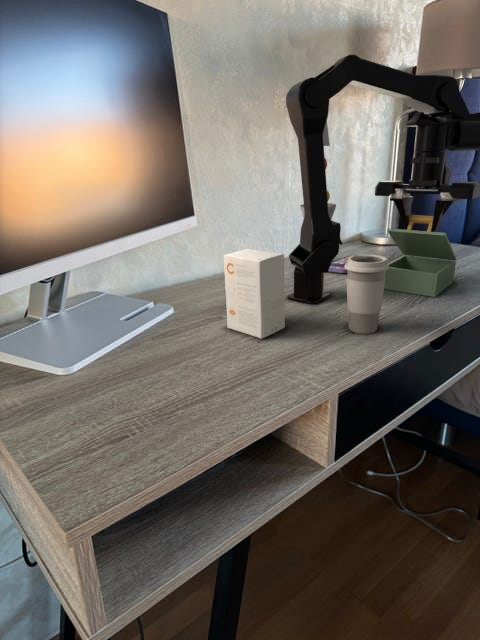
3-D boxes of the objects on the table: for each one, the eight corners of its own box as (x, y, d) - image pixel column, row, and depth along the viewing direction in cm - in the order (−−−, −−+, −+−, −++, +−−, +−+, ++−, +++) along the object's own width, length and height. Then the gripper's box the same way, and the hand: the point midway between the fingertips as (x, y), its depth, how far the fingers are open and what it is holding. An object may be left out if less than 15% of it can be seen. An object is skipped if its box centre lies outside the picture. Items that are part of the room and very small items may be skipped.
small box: (285, 328, 76) (285, 253, 72) (261, 339, 72) (259, 261, 67) (250, 317, 81) (248, 247, 77) (226, 328, 77) (222, 254, 73)
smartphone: (318, 270, 110) (348, 258, 121) (345, 274, 106) (374, 261, 116) (318, 266, 110) (348, 255, 120) (345, 270, 105) (374, 258, 115)
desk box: (434, 297, 88) (437, 274, 87) (379, 288, 95) (381, 266, 93) (453, 282, 97) (456, 261, 95) (401, 274, 104) (403, 255, 102)
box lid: (444, 235, 85) (451, 212, 85) (386, 230, 92) (393, 209, 92) (455, 260, 95) (461, 240, 96) (403, 254, 102) (408, 235, 103)
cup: (364, 318, 79) (369, 251, 75) (393, 330, 74) (399, 259, 69) (333, 326, 76) (335, 257, 72) (360, 339, 71) (364, 266, 66)
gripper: (493, 150, 86) (480, 231, 91) (398, 152, 97) (391, 224, 102) (478, 150, 78) (465, 239, 83) (376, 153, 89) (370, 231, 94)
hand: (420, 233), depth 91 cm, fingers closed on box lid, 5 cm apart
